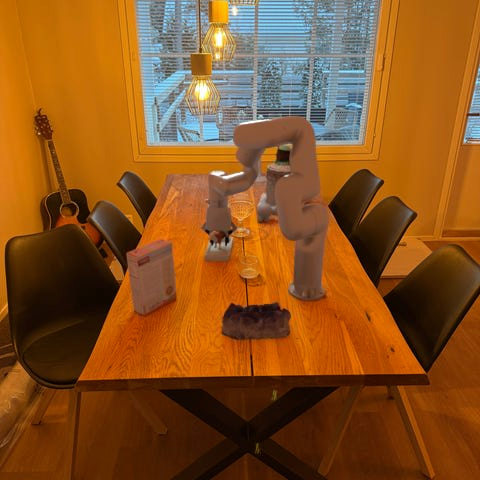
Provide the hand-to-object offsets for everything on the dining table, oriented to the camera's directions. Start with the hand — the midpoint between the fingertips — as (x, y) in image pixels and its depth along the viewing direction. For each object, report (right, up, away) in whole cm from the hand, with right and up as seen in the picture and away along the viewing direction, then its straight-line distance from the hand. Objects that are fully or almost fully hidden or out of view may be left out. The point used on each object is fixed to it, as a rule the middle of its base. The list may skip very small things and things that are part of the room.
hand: (219, 244), depth 181 cm
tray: (0, -3, +1) cm, 3 cm away
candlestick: (+20, +40, +101) cm, 111 cm away
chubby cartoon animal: (+23, +11, +34) cm, 42 cm away
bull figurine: (0, -1, 0) cm, 1 cm away
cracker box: (-19, -20, -37) cm, 46 cm away
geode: (+13, -26, -51) cm, 58 cm away
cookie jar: (+31, +21, +57) cm, 69 cm away
